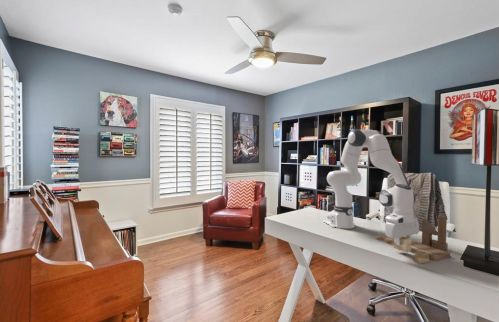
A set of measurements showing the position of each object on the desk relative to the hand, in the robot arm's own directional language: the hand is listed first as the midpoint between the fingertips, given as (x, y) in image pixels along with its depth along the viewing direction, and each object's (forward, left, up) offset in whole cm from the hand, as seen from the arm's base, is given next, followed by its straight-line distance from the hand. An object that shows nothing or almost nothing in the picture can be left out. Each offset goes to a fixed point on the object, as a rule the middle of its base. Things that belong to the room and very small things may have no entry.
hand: (402, 244), depth 123 cm
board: (-5, +12, -5) cm, 14 cm away
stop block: (+9, 0, -5) cm, 11 cm away
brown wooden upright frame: (0, +24, -5) cm, 25 cm away
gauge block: (0, 0, -3) cm, 3 cm away
